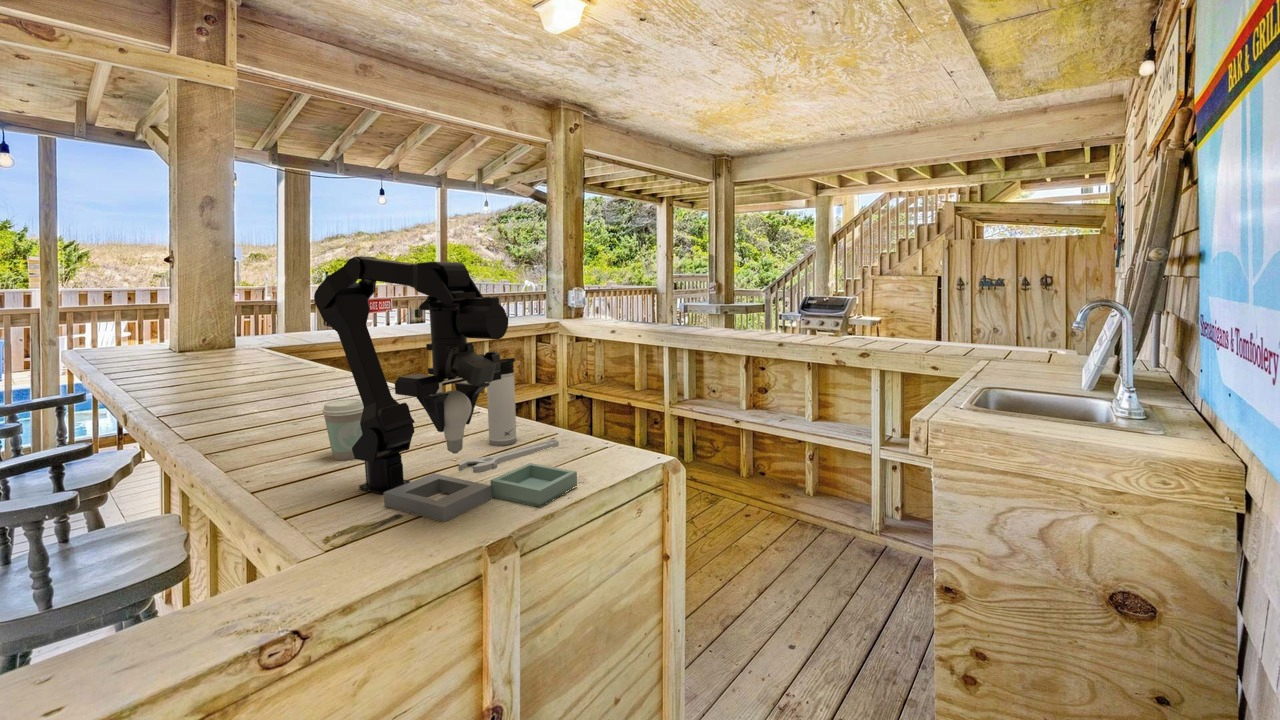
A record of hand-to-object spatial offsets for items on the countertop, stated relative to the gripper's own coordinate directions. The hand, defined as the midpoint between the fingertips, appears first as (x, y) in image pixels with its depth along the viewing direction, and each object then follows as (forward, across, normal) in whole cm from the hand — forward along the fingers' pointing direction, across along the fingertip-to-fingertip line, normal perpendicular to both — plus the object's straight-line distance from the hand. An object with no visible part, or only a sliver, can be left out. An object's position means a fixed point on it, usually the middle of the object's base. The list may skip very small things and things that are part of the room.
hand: (454, 427), depth 102 cm
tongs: (+14, -15, +4) cm, 21 cm away
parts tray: (+13, +10, -9) cm, 19 cm away
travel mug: (+13, +32, +18) cm, 39 cm away
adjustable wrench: (+14, +24, +8) cm, 29 cm away
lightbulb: (+5, 0, 0) cm, 5 cm away
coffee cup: (+13, +7, +41) cm, 43 cm away
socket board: (+13, -2, +2) cm, 13 cm away
